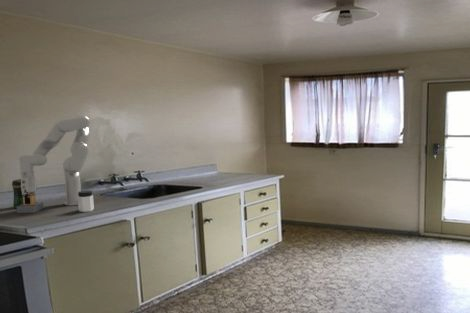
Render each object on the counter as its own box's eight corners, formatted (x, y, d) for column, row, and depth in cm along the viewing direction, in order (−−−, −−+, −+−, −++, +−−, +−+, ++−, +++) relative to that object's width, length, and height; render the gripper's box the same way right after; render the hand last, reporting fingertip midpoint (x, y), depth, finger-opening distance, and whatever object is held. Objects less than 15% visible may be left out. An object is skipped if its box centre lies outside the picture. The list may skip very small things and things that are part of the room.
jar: (83, 208, 250) (82, 190, 249) (95, 208, 250) (94, 190, 248) (76, 212, 241) (75, 193, 240) (89, 212, 241) (88, 192, 239)
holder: (43, 208, 254) (42, 202, 254) (34, 212, 243) (34, 206, 243) (26, 208, 254) (25, 202, 254) (16, 212, 243) (16, 206, 243)
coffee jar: (19, 209, 254) (17, 180, 252) (11, 208, 257) (9, 180, 255) (33, 205, 262) (30, 178, 260) (24, 204, 266) (22, 177, 264)
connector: (36, 205, 251) (35, 192, 250) (32, 206, 246) (31, 194, 245) (27, 205, 251) (26, 193, 250) (23, 207, 246) (22, 194, 246)
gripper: (26, 176, 238) (28, 205, 240) (40, 172, 255) (42, 199, 257) (13, 176, 238) (16, 206, 240) (28, 172, 255) (30, 200, 257)
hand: (29, 202), depth 248 cm, fingers closed on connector, 4 cm apart
